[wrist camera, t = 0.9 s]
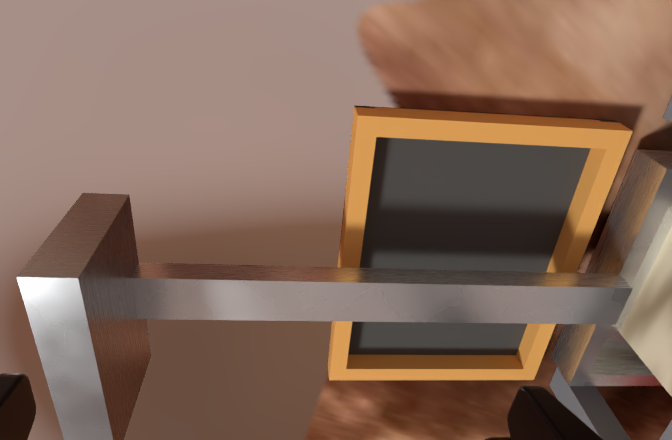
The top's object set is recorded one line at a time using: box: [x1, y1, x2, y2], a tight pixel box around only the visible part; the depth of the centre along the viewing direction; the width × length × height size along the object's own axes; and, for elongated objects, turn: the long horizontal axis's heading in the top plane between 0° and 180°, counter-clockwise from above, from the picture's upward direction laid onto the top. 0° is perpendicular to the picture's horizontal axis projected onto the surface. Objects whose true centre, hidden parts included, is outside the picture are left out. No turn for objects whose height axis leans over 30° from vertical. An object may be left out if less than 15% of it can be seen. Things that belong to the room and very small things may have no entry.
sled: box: [17, 149, 672, 440], centre depth 20 cm, size 12×34×7 cm, turn 85°
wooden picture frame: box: [328, 106, 633, 380], centre depth 23 cm, size 14×11×1 cm
